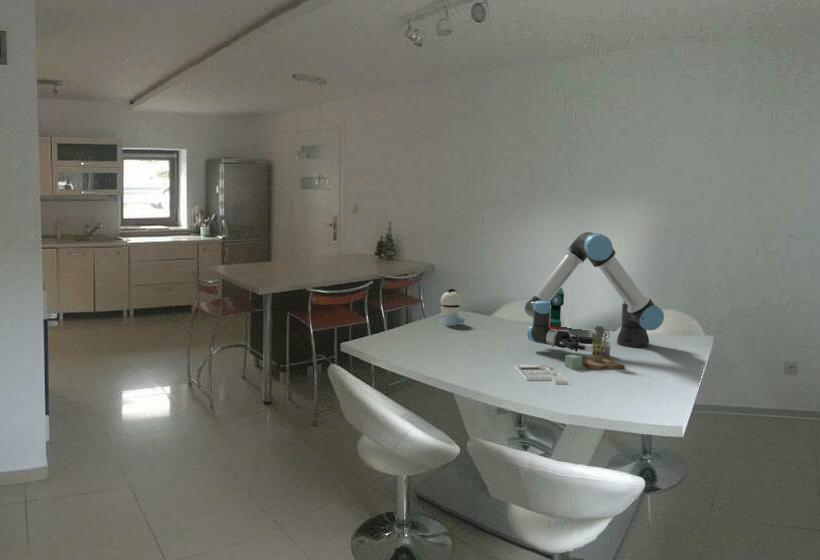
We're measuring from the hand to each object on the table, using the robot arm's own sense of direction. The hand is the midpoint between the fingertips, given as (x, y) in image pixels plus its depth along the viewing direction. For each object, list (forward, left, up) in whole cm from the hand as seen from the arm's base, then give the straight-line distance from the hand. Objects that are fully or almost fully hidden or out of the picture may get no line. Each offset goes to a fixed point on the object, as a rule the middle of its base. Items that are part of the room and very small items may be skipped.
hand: (600, 346), depth 293 cm
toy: (+47, -91, -8) cm, 103 cm away
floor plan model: (+31, +14, -9) cm, 35 cm away
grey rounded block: (-8, -15, -8) cm, 18 cm away
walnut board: (0, -1, -8) cm, 8 cm away
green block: (+13, +3, -8) cm, 16 cm away
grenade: (0, -1, -7) cm, 7 cm away
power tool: (-8, -77, -8) cm, 77 cm away
